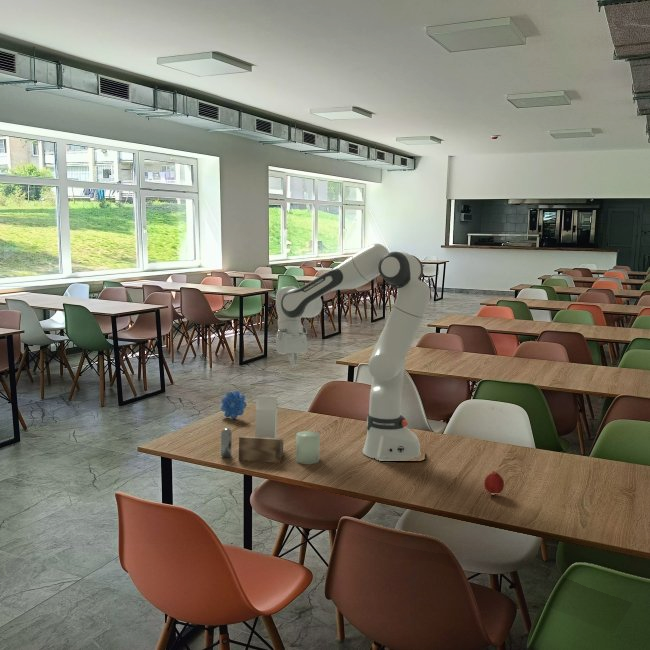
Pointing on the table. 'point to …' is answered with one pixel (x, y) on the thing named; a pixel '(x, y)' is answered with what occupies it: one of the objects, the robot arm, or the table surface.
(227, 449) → the grey shaker
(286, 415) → the table surface
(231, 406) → the grapes
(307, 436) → the sage mug
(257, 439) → the walnut holder
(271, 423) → the milk carton
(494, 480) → the onion
